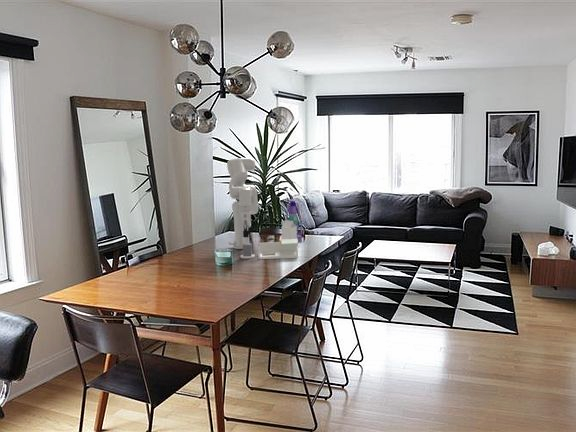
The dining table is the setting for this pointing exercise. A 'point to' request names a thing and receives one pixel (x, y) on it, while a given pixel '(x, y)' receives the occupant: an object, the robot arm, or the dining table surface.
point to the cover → (288, 242)
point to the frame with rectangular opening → (276, 251)
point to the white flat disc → (247, 256)
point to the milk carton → (289, 230)
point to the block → (247, 249)
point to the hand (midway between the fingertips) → (246, 235)
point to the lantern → (294, 217)
